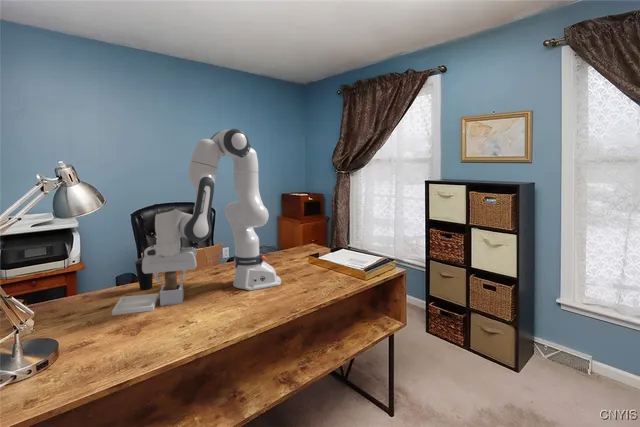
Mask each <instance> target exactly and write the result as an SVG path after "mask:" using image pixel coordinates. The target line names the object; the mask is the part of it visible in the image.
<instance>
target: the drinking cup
mask: <svg viewBox="0 0 640 427" xmlns="http://www.w3.org/2000/svg"><path fill="white" fill-rule="evenodd" d="M141 248H142V250H141V252H142V257H141V258H138V259H136V260H135V261H134V264H135V268H136V270H135V271H136V274H137V279H138V286H139V290H140V291H149V290H152V289H153V280H154V279H153V276H154V273H147V274H144V273H143V272H142V261H143V258H144V257H145V255H144V251H145V247H144V246H142V247H141Z"/></svg>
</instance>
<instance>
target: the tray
mask: <svg viewBox="0 0 640 427" xmlns="http://www.w3.org/2000/svg"><path fill="white" fill-rule="evenodd" d="M159 299H160V293H158V292H157V293H156V292H155V293H148V294H138V295H137V294H136V295H128V296H121V297H120V298H119V300H118V301H117V302H116V304H115V306H114V307H113V308H112V310H111V315H112V316H117V315H118V316H119V315H128V314H129V315H130V314H136V313H137V314H138V313H144V312H153V311H154V310H155V308H156V305H157V303H158V300H159Z"/></svg>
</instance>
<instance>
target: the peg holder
mask: <svg viewBox="0 0 640 427" xmlns="http://www.w3.org/2000/svg"><path fill="white" fill-rule="evenodd" d="M177 288H178V289H177V290H167V291H166V288H165V284H162V285H161V288H160V290H159V302H160V303H159V304H160V307H163V306H171V305H181V304H183V301H184V283H177Z"/></svg>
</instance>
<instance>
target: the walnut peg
mask: <svg viewBox="0 0 640 427" xmlns="http://www.w3.org/2000/svg"><path fill="white" fill-rule="evenodd" d="M177 276H178V274H177V271H170V272H164V285H165V288H166V291H167V290H177V289H178V288H177V284H178V277H177Z"/></svg>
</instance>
